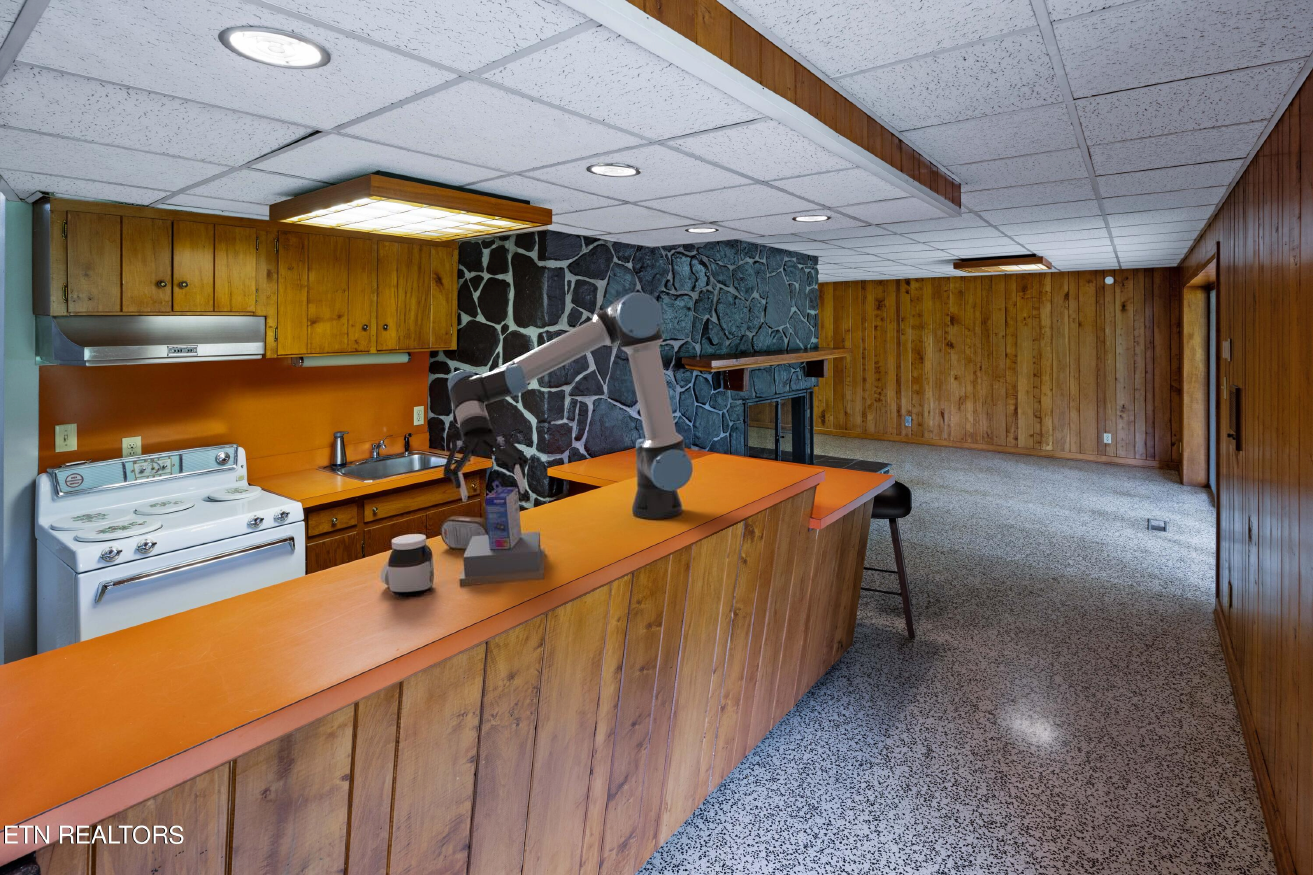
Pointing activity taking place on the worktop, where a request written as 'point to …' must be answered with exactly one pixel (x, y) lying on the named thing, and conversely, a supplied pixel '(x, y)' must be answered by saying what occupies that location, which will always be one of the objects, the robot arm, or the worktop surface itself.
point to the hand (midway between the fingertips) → (495, 494)
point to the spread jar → (409, 566)
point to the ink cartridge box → (503, 517)
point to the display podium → (503, 561)
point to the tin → (462, 531)
